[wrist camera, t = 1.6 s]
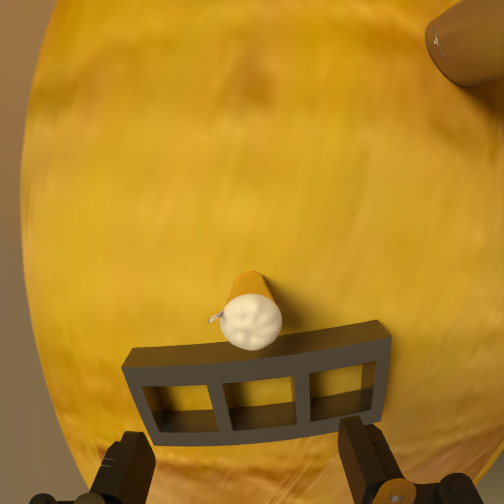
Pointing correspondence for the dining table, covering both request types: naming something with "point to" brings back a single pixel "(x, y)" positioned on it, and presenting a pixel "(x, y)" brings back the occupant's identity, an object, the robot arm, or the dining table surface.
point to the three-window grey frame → (259, 368)
